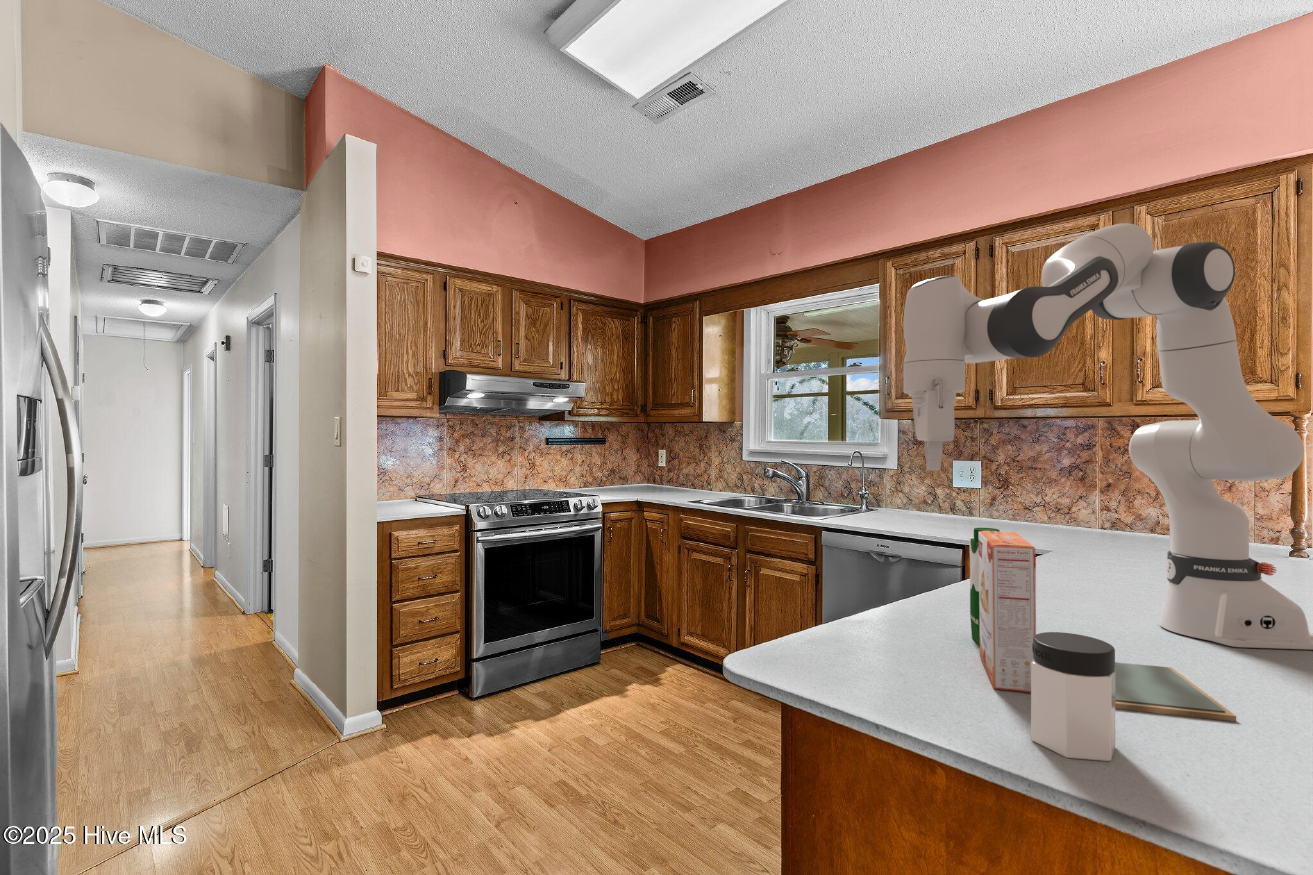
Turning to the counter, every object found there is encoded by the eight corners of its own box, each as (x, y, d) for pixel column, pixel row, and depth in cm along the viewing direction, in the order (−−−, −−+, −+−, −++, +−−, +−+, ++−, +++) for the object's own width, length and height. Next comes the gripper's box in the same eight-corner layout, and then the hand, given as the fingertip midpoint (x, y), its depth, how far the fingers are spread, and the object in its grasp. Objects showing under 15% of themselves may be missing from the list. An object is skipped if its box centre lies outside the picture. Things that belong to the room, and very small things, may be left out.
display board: (1171, 671, 99) (1171, 666, 99) (1236, 721, 82) (1236, 714, 82) (1024, 658, 105) (1024, 652, 105) (1055, 701, 88) (1055, 695, 88)
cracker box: (976, 657, 106) (976, 529, 105) (1018, 662, 103) (1018, 531, 103) (989, 689, 92) (989, 543, 92) (1038, 695, 90) (1038, 545, 90)
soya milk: (964, 636, 117) (965, 525, 117) (1019, 639, 115) (1019, 526, 115) (978, 652, 108) (979, 532, 108) (1038, 655, 106) (1038, 534, 106)
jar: (1039, 721, 82) (1040, 626, 82) (1118, 740, 77) (1118, 639, 77) (1025, 747, 75) (1025, 644, 75) (1110, 770, 70) (1110, 659, 70)
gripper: (966, 375, 90) (965, 474, 90) (947, 385, 109) (947, 467, 109) (917, 376, 92) (917, 474, 92) (907, 386, 111) (907, 467, 111)
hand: (933, 470), depth 101 cm, fingers closed
